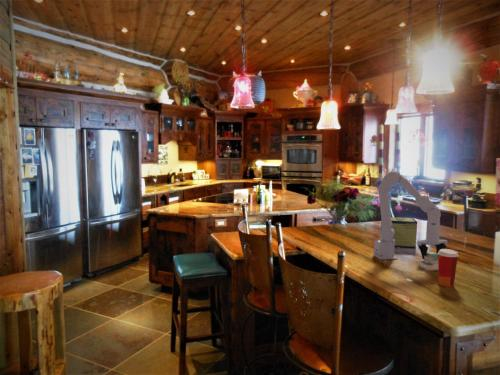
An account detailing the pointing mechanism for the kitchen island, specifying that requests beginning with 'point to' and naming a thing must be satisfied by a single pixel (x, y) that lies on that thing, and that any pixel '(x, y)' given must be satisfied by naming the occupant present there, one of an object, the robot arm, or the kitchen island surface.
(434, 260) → the teal block
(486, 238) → the kitchen island surface
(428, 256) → the silver metal cylinder
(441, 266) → the paper cup
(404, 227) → the protein box
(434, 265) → the parts tray
